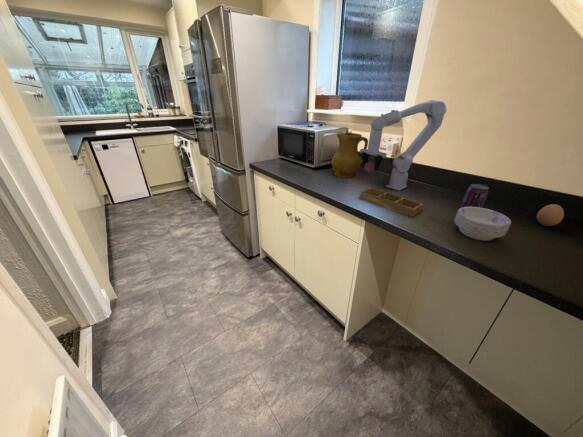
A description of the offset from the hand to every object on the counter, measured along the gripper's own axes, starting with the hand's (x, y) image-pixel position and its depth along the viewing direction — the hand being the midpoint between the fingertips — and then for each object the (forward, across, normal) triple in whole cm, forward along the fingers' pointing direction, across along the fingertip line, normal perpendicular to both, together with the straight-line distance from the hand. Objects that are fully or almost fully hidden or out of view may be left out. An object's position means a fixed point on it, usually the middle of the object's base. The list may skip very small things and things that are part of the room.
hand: (370, 168), depth 125 cm
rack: (+10, +21, -14) cm, 27 cm away
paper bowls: (+10, +55, -14) cm, 57 cm away
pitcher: (+10, -20, +6) cm, 23 cm away
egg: (+10, +70, +15) cm, 73 cm away
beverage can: (+10, +48, +5) cm, 49 cm away
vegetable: (+3, 0, 0) cm, 3 cm away
